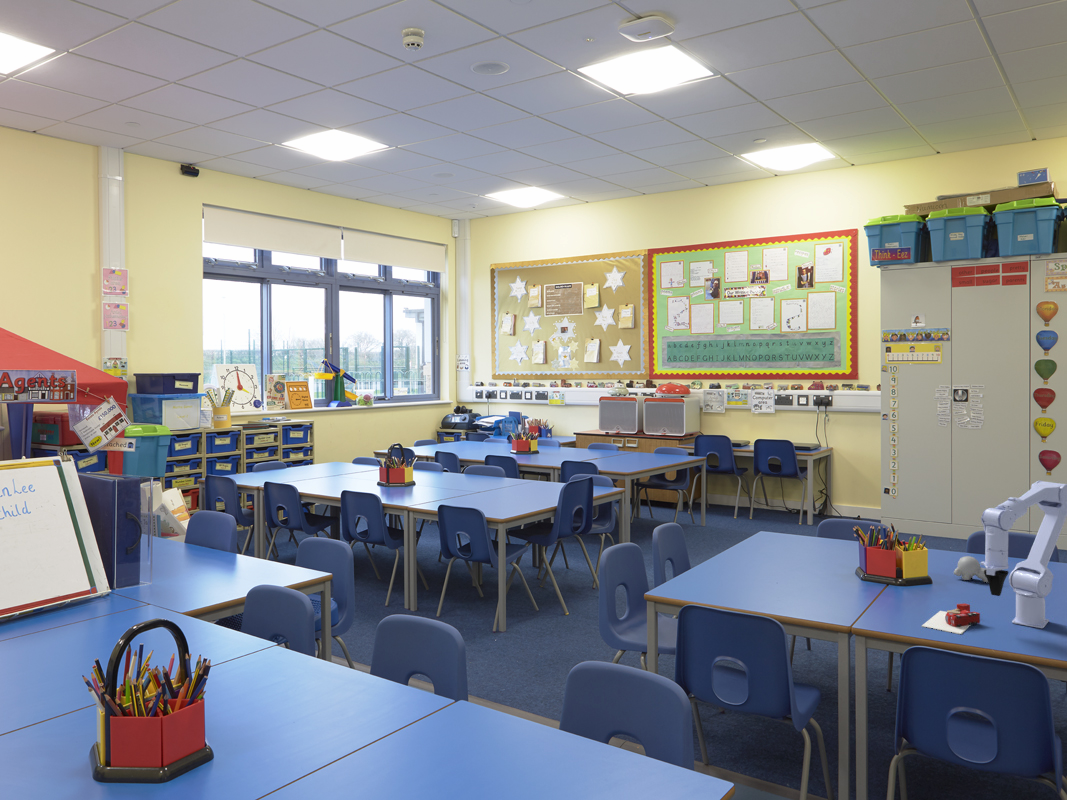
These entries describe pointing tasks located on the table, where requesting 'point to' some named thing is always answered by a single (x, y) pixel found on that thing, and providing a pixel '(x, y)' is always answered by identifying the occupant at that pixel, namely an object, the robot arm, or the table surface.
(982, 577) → the chubby cartoon animal
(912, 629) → the table surface
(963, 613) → the toy fire truck
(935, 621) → the mat
